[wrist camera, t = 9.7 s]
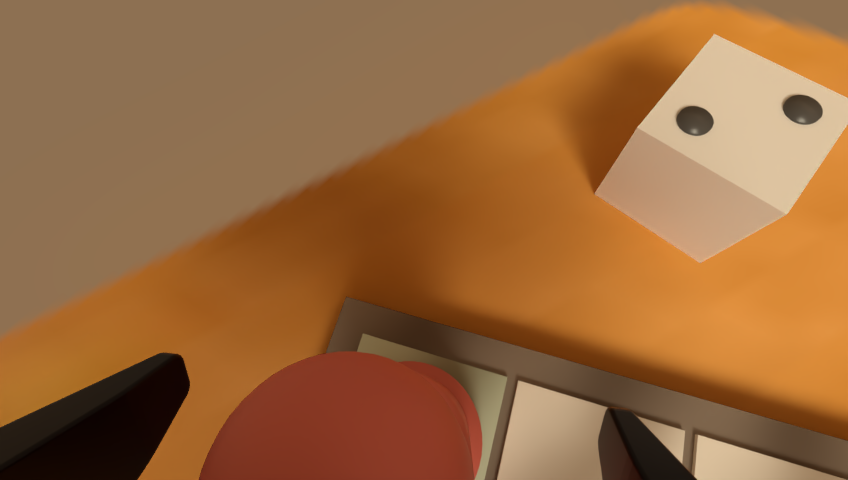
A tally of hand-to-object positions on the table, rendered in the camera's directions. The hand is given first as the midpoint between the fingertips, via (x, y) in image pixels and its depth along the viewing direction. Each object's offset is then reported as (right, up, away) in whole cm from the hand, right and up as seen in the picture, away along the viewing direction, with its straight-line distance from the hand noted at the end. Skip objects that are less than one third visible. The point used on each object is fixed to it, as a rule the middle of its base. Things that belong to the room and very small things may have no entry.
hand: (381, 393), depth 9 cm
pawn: (0, -4, +6) cm, 7 cm away
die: (+12, +6, +10) cm, 16 cm away
